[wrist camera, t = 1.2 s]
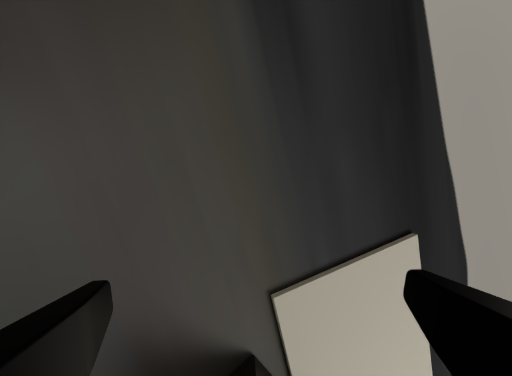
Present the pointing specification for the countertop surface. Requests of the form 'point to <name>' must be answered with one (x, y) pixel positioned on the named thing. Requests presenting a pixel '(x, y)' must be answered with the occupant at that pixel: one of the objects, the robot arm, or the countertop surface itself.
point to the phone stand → (251, 368)
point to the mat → (355, 318)
